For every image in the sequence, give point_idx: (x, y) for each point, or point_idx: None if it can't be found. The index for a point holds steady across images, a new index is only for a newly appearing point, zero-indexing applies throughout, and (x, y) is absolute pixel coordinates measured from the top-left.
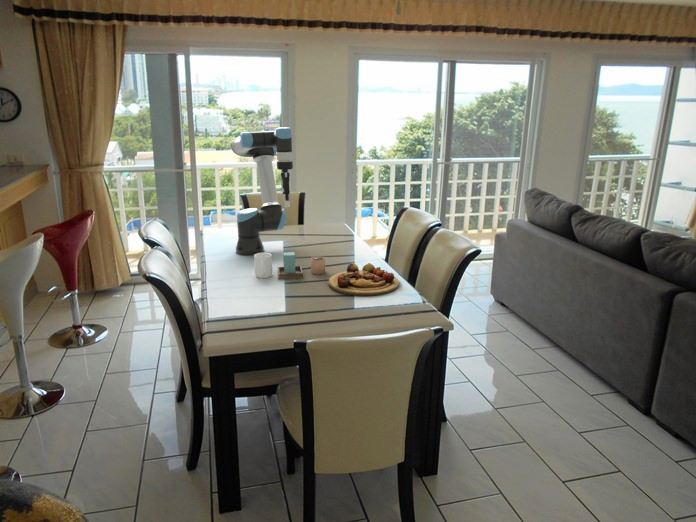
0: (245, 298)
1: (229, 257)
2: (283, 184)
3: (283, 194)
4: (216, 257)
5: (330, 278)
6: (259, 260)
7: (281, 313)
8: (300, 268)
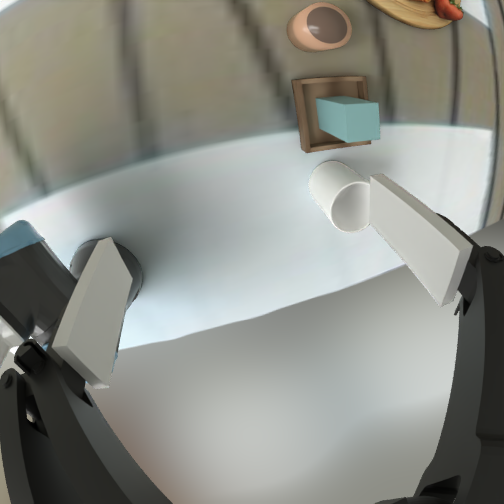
0: (443, 197)
1: (169, 300)
2: (120, 446)
3: (115, 331)
4: (175, 322)
5: (400, 16)
6: None
7: (494, 136)
8: (325, 81)
